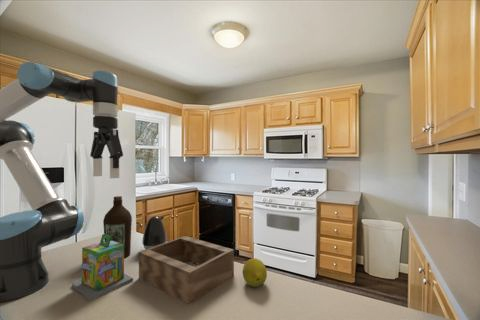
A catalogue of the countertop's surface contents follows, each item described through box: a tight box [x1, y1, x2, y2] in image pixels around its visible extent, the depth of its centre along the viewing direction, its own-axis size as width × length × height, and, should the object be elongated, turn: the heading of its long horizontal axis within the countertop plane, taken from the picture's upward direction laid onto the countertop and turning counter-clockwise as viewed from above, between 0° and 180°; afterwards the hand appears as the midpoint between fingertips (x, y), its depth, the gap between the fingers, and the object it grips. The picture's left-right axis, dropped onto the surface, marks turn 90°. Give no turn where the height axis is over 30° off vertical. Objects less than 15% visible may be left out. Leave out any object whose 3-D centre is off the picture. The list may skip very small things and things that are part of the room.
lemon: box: [242, 258, 268, 288], centre depth 76 cm, size 11×8×8 cm
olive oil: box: [103, 195, 133, 259], centre depth 98 cm, size 11×11×25 cm
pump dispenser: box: [142, 215, 168, 250], centre depth 105 cm, size 10×10×15 cm
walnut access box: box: [138, 235, 235, 306], centre depth 81 cm, size 25×20×9 cm
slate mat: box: [71, 273, 134, 301], centre depth 77 cm, size 13×13×1 cm
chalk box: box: [81, 233, 125, 291], centre depth 76 cm, size 9×9×15 cm
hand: (105, 177), depth 82 cm, fingers open, 13 cm apart
